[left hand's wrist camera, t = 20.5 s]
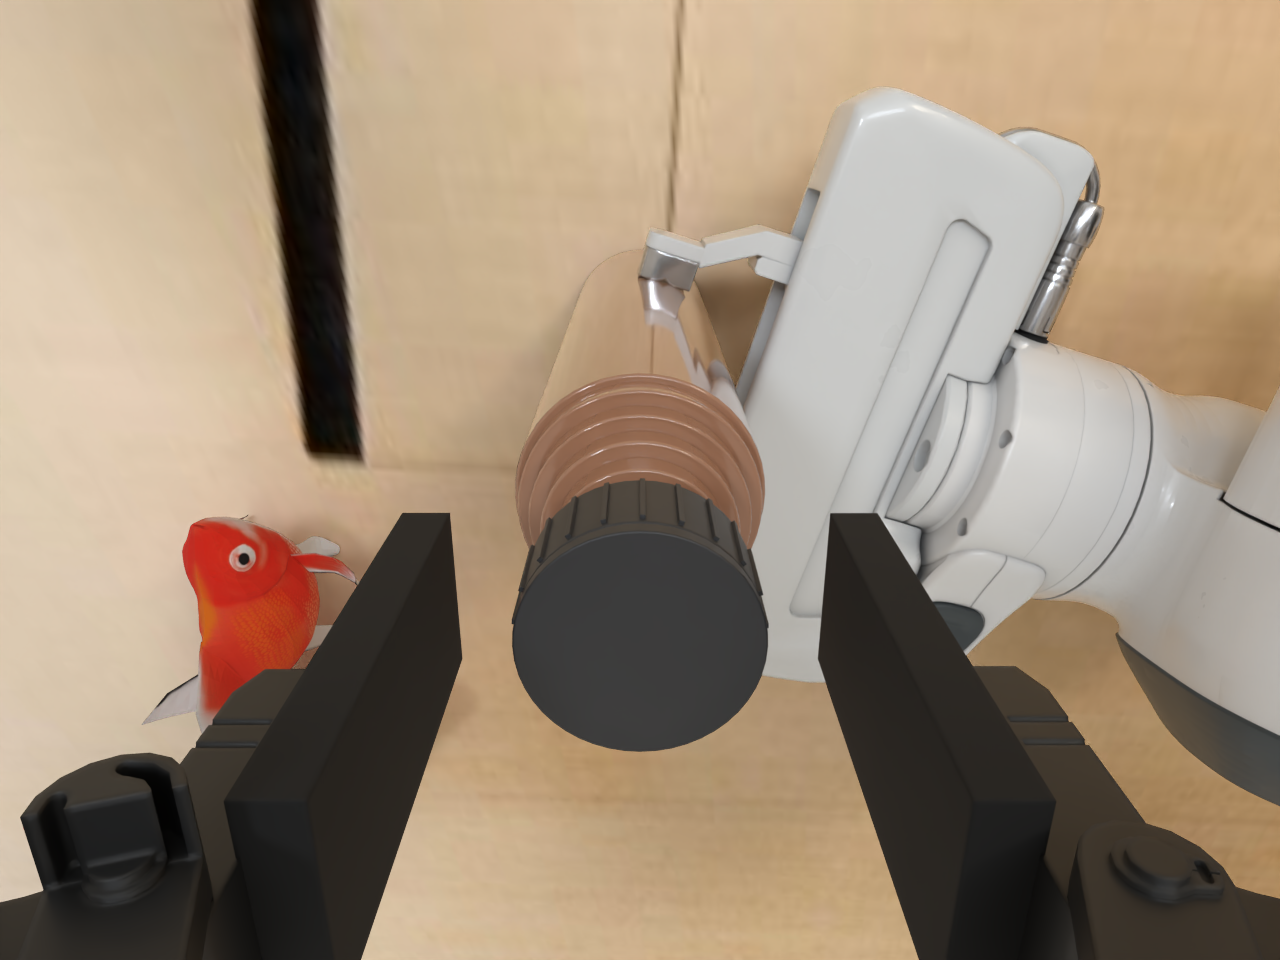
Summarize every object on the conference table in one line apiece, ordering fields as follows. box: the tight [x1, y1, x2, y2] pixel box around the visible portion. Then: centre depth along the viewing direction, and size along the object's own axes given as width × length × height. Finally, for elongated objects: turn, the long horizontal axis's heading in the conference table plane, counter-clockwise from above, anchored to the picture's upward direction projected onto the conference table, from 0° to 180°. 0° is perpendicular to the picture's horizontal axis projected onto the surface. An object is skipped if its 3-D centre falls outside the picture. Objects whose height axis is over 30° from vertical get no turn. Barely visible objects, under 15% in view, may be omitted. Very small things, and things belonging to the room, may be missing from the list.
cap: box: [512, 478, 769, 752], centre depth 14 cm, size 4×4×2 cm
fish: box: [142, 515, 359, 733], centre depth 38 cm, size 11×16×10 cm
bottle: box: [515, 250, 765, 549], centre depth 25 cm, size 5×5×25 cm
